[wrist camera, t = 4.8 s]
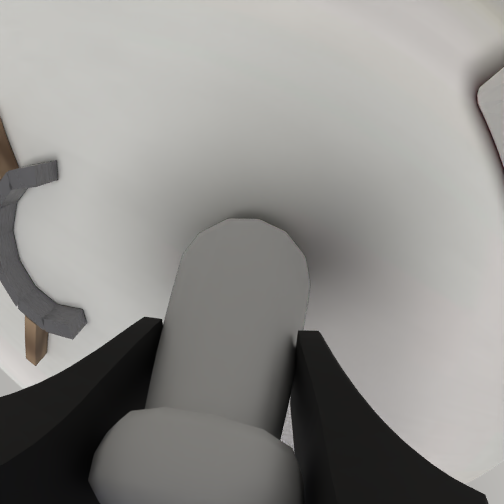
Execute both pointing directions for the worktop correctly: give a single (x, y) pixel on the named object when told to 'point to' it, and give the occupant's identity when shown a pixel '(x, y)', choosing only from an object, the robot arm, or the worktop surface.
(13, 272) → the silver segmented arch
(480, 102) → the pan
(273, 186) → the worktop surface
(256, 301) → the salt shaker
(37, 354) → the hinge leaves
